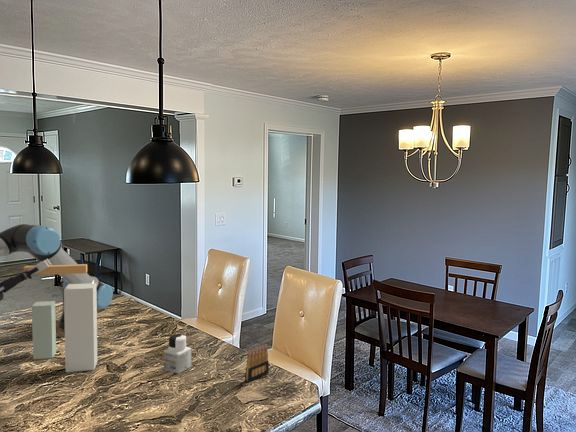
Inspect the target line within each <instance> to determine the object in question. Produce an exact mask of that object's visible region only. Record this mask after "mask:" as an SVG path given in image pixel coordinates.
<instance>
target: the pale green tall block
mask: <svg viewBox="0 0 576 432" xmlns="http://www.w3.org/2000/svg"><path fill="white" fill-rule="evenodd" d="M56 323H57V322H56V300H52V301H51V300H49V301H47V300H46V301H35V302H34V304H32V305H31V325H32V327H31V328H32V359H33V360H45V359H53V358H54V356H55V355H56V353H57V333H56V329H57V328H56V326H57V325H56Z"/></svg>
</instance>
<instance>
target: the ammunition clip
mask: <svg viewBox="0 0 576 432" xmlns="http://www.w3.org/2000/svg"><path fill="white" fill-rule="evenodd" d="M246 356H247V357H246V366H245V374H244V375H245V377H244V378H245V379H244V381H245V380H246V381H245V382H247V381H248V383H250V382H252V381H254V380H253V379H255V380H257V379H259V378H261V377H263V376H262V375H264V376H265V374H266V375H268V374H269V372H270V369H269V368H270V365H269V364H270V363H269V362H270V360H269V352H268V344H267V343H265V344H264V343H263V344H262V345H261V346H260V345H258V347H257V346H255V347H254V348H253V347H252V348H251V350H250V349H248V351H247V355H246ZM267 373H268V374H267ZM260 376H261V377H260ZM258 377H259V378H258ZM256 378H257V379H256ZM251 380H252V381H251ZM249 381H250V382H249Z"/></svg>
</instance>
